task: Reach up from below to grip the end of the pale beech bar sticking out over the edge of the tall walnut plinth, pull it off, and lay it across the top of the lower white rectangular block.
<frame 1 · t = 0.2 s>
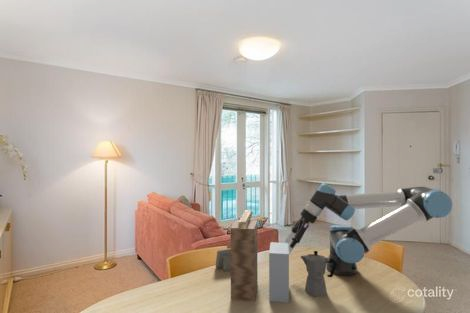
hand: (286, 247, 136), 15 cm above the table, tool tilted 35°, fingers open, 13 cm apart
walnut plinth: (244, 291, 122), on the table
coffeepot: (318, 292, 121), on the table
white rectangular block: (279, 293, 120), on the table
beech bar: (245, 221, 125), point 30 cm above the table, touching walnut plinth
digital clock: (230, 267, 148), on the table
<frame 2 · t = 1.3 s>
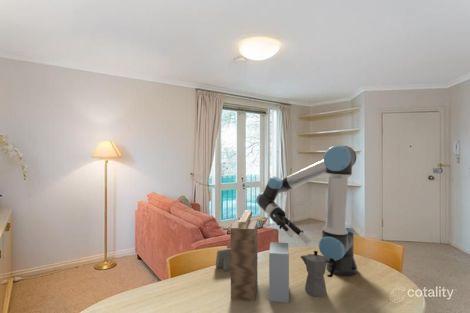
hand: (300, 238, 130), 21 cm above the table, tool tilted 65°, fingers open, 13 cm apart
nothing on the table moved.
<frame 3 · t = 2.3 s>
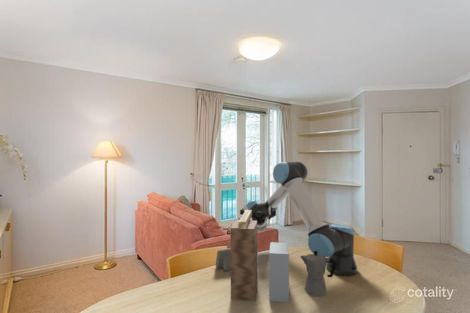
hand: (256, 208, 148), 32 cm above the table, tool pointing upward, fingers open, 13 cm apart
nothing on the table moved.
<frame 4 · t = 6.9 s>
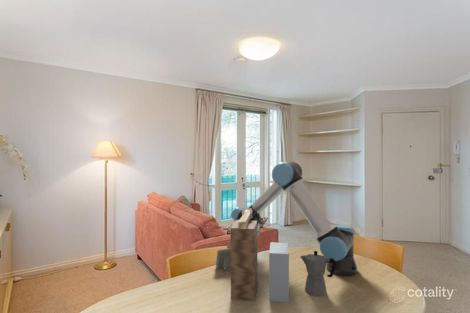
hand: (246, 210, 129), 34 cm above the table, tool pointing upward, fingers closed on beech bar, 3 cm apart
beech bar: (245, 221, 125), point 30 cm above the table, touching gripper
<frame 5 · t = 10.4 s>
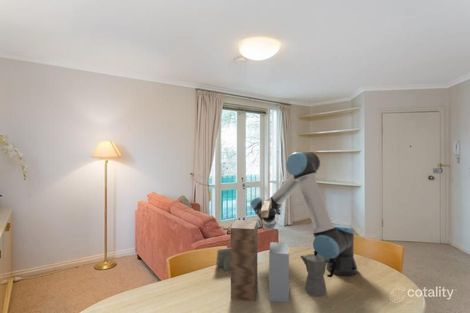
hand: (266, 201, 132), 38 cm above the table, tool pointing upward, fingers closed on beech bar, 3 cm apart
beech bar: (265, 211, 128), point 34 cm above the table, touching gripper
when the fingers open (26 cm above the table, at t = 14.2 s): beech bar drops 2 cm, resting on white rectangular block.
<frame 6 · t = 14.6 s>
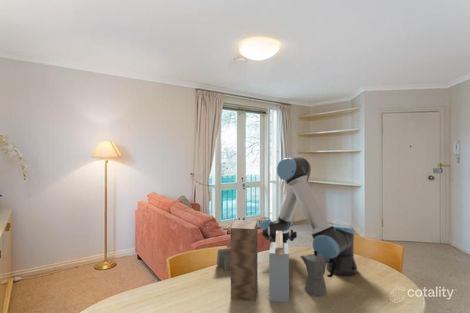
hand: (279, 229, 128), 26 cm above the table, tool pointing upward, fingers open, 9 cm apart
beech bar: (279, 245, 124), point 20 cm above the table, touching white rectangular block
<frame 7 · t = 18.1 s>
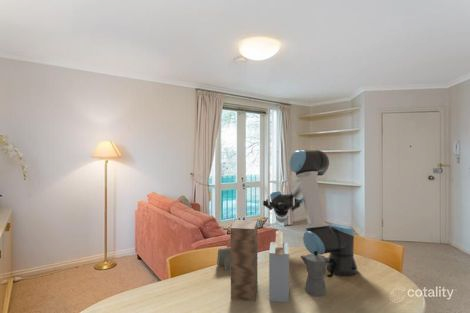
hand: (281, 199, 146), 37 cm above the table, tool pointing upward, fingers open, 13 cm apart
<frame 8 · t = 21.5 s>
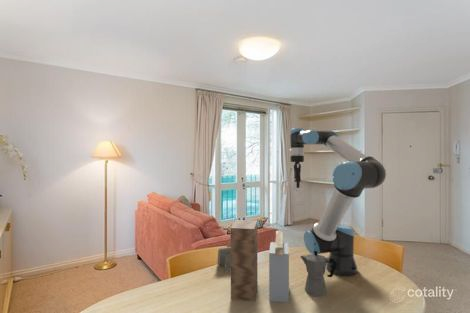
hand: (297, 191, 160), 39 cm above the table, tool pointing down, fingers open, 13 cm apart
at the end: beech bar inside the target area (0.6 cm from its centre), point 20.0 cm above the table; beech bar touching white rectangular block; the gripper is holding nothing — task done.
